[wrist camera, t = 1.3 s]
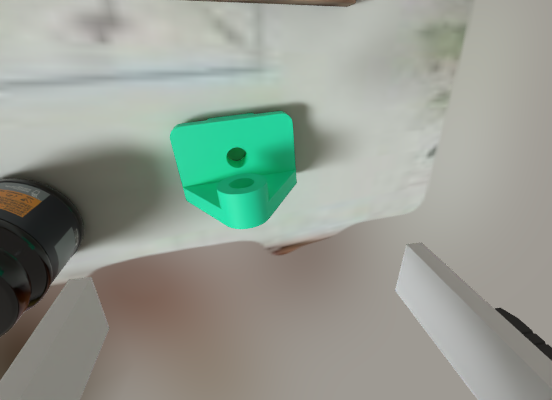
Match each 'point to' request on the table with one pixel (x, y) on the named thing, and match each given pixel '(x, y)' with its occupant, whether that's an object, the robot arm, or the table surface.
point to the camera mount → (236, 165)
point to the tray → (294, 2)
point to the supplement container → (32, 244)
